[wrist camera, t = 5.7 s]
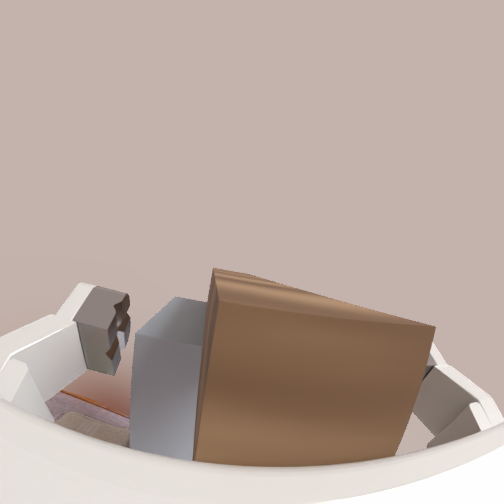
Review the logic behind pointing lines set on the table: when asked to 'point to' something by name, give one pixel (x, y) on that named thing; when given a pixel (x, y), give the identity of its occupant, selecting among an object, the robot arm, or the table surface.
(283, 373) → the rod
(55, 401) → the table surface
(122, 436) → the washcloth
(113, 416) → the table surface
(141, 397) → the shelf stand
